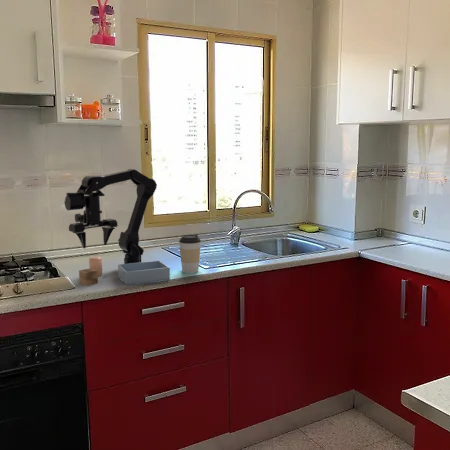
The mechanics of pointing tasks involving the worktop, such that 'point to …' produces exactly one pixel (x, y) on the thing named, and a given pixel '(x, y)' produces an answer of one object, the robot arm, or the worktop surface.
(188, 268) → the coffee cup
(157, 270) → the tote
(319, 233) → the worktop surface
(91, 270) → the cube
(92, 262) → the pink rectangular block
